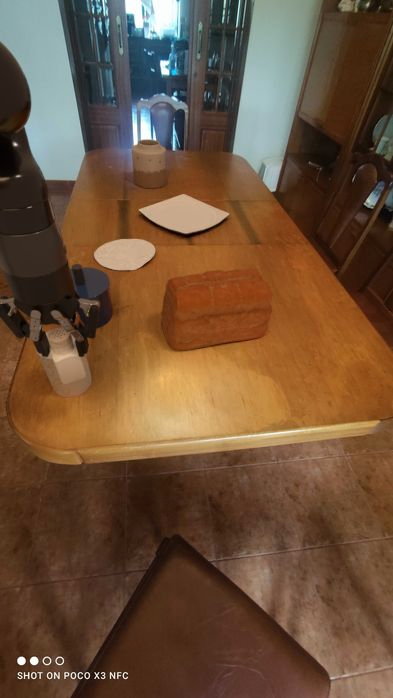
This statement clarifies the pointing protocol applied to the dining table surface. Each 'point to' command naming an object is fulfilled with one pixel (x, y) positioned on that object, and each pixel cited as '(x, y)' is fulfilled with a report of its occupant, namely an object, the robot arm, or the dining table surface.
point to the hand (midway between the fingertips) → (65, 352)
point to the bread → (215, 308)
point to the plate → (184, 215)
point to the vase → (149, 164)
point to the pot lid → (89, 281)
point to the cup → (58, 386)
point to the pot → (105, 310)
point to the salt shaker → (65, 356)
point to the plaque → (124, 254)
